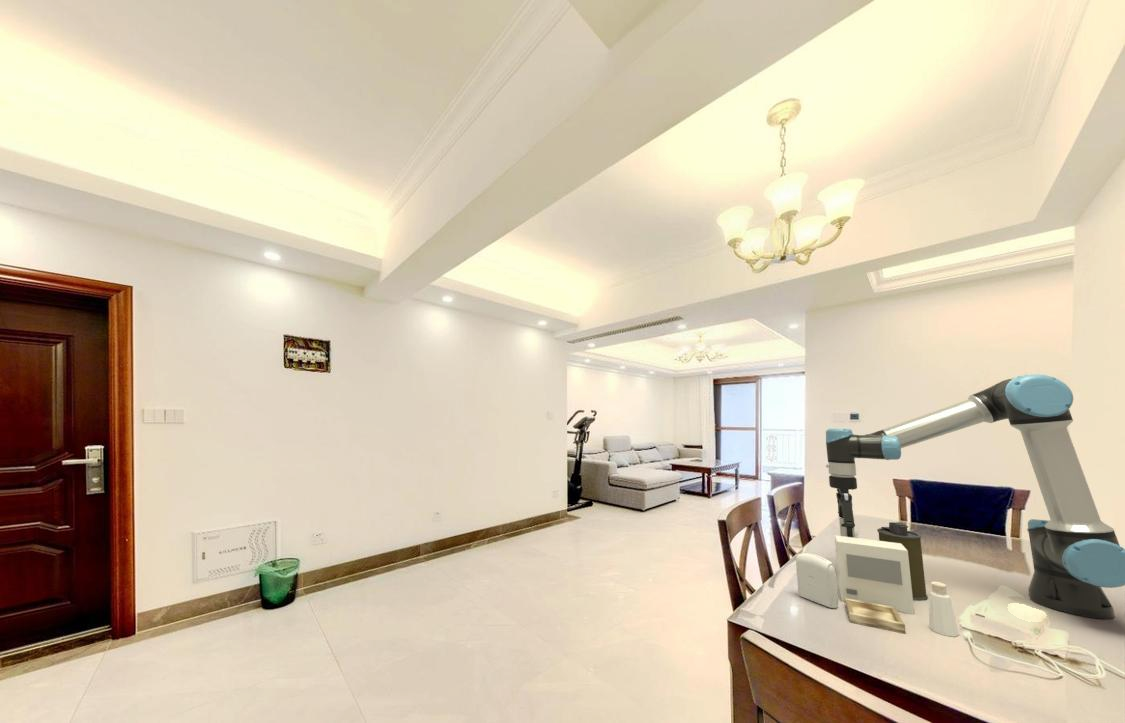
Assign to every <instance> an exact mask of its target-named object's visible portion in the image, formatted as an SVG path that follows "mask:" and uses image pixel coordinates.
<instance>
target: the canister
mask: <svg viewBox="0 0 1125 723" xmlns="http://www.w3.org/2000/svg"><path fill="white" fill-rule="evenodd" d="M908 528H909V526H908V525H907V524H904V523H902V522H897V521H895V522H893V521H891V522H888V526H881V527H880V528H878V529H877V532H878V541H885V542H893V543H901V544H902V545H903V546H904V547H905V548H906V549H907V550H908V558H909V567H910V577H911V587H912V596H913V601H926V600H928V598H929V596H928V595H927V589H926V588H927V587H926V578H925V569H924V567H925V566H924V560H923V551H922V550H923V548H922V541H921V538H922V535H921V534H920V533H917V532H914V531H911V530H910V531H909V530H908Z"/></svg>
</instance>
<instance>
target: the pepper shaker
mask: <svg viewBox="0 0 1125 723" xmlns="http://www.w3.org/2000/svg"><path fill="white" fill-rule="evenodd" d="M930 583H931V590H932V591H930V592H929V607H928V608H929V609H928V610H929V611H928V612H929V613H928V627H929V629H931V631H933V632H934V633H937V634H939V635H941V636H944V637H945V636H946V637H952V638H956V637H958V636H959V635H960V631H959V627H958V622H957V619H956V615H955V612H954V607H953V603H952V598H951V596H950V595H948V593H947V585H946V584H945V583H943V582H939V581H931V582H930Z"/></svg>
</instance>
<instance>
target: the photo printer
mask: <svg viewBox="0 0 1125 723" xmlns="http://www.w3.org/2000/svg"><path fill="white" fill-rule="evenodd" d="M795 562H796V565H795V566H796V576H797V577H796V579H797V592H798V596H800V597H802V598H805V599H807V600H808V601H811V602H814V603H816V604H819V605H822V606H823V607H828V608H830V609H837V608H838V606H839V596H838V585H837V574H836V572H837V571H836V568H835V564H834V563H833V562H831V561H830V560H828V559H826V558H825V557H822V556H820V555H818V554H814V553H807V552H806V553H805V552H804V553H803V552H802V553H798V554H797V555H796V561H795Z"/></svg>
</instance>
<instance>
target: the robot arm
mask: <svg viewBox="0 0 1125 723" xmlns="http://www.w3.org/2000/svg"><path fill="white" fill-rule="evenodd" d="M1073 403H1074V394H1073V391H1072V390H1071V388H1070V386H1068V385H1067V384H1066V383H1065V382H1064V381H1063V380H1060V379H1058V378H1056V377H1053V376H1050V375H1046V374H1040V373H1039V374H1023V375H1020V376H1016V377H1012V378H1008V379H1005V380H1002V381H999V382H998V383H996V384H993V385H992V386H989V387H988V388H985V389H983V390H980V391H978V392H976V393H973V394H970V395H969V396H968V398H967V399H966V400H963V401H960V402H958V403H954V404H952V405H949V406H946V407H943V408H941V409H937V410H935V411H932V412H928V413H926V414H924V415H920V416H917V417H915V418H911V419H909V420H906V421H904V422H901V423H897V424H895V425H892V426H888V427H886V428H883V429H881V430H878V431H875V432H872V433H866V434H862V435H861V434H854V433H853V430H852V429H851V428H828V429H827V430H825V445H826V446H825V447H826V456H827V463H828V464H826V465H825V467H826V469H827V468H828V474H829V476H828V484H829V487H831V488H833V489H836V491H837V492H836V493H835V494H836V495H835V496H836V498H837V499H836V500H837V502H836V503H837V513H838V520H839V522H838V523H839V532H840V533H839V534H840V535H839V536H845V537H853V538H856V532H855V526H856V524H855V518H854V510H853V496H852V494H851V493H850V492H849V490H852V491H853V490H857V489H858V482H857V481H858V480H857V478H856V477H855V476H857V467H856V461H855V460H856V459H870V460H886V461H890V460H894V461H895V460H896V461H898V460H899V459H901V457H902V449H904V448H907V447H910V446H914V445H916V444H919V443H922V442H925V441H928V440H931V439H934V438H938V437H941V436H945V435H946V434H950V433H953V432H957V431H959V430H963V429H967V428H968V427H971V426H974V425H978V424H981V423H988V424H993V423H995V422H999V421H1002V420H1003V421H1004V420H1008V422H1009V425H1010V427H1012V428H1014V429H1016V430H1018V431H1019V432H1020V434H1021V437H1022V440H1023V443H1024V446H1025V449H1026V452H1027V454H1028V457H1029V458H1028V459H1029V461H1030V463H1031V466H1032V469H1033V472H1034V474H1035V478H1036V481H1037V483H1038V486H1039V490H1040V493H1041V496H1042V497H1043V498H1042V499H1043V501H1044V505H1045V508H1046V510H1047V513H1048V516H1049V520H1046V519H1033V518H1031V519H1029V520H1028V521H1027V528H1026V531H1027V532H1028V538H1029V545H1030V551H1031V558H1032V559H1031V560H1032V564H1033V574H1032V577H1031V580H1030V584H1029V586H1028V595H1029V596H1028V597H1030V598H1031V599H1032V600H1031V599H1030V598H1029V599H1030V600H1031V601H1033V602H1034V601H1035V602H1034V603H1036V602H1037V603H1036V604H1039V605H1041V604H1042V605H1041V606H1043V605H1044V606H1043V607H1046V606H1047V608H1049V607H1050V609H1052V608H1053V609H1052V610H1056V609H1057V610H1056V611H1059V610H1060V611H1061V612H1063V611H1064V612H1063V613H1066V614H1067V613H1068V614H1072V615H1077V616H1082V617H1087V618H1094V619H1114V618H1115V612H1114V611H1115V610H1114V606H1113V605H1112V603H1111V601H1110V599H1109V598H1108V597H1107V594H1106V593H1105V591H1104V590H1103V588H1105V589H1106V588H1107V589H1110V588H1121V587H1124V586H1125V548H1124V547H1122V546H1121V545H1120V543H1119V540H1118V537H1117V535H1116V532H1115V530H1114V528H1113V527H1112V526H1110V525H1108V524H1106V523H1104V522H1103V521H1102V520H1101V516H1100V514H1099V512H1098V509H1097V506H1096V504H1095V501H1094V499H1093V496H1092V493H1091V489H1090V487H1089V484H1088V481H1087V478H1086V477H1085V476H1086V475H1085V474H1084V470H1083V468H1082V466H1081V463H1080V460H1079V457H1078V454H1077V451H1076V449H1075V446H1074V443H1073V441H1072V438H1071V436H1070V433H1069V432H1070V431H1069V430H1068V427H1069V426H1070V425H1071V424H1072V423H1073V422H1074V419H1073V417H1072V414H1071V411H1070V408H1071V407H1072V405H1073ZM1060 611H1059V612H1060Z"/></svg>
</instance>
